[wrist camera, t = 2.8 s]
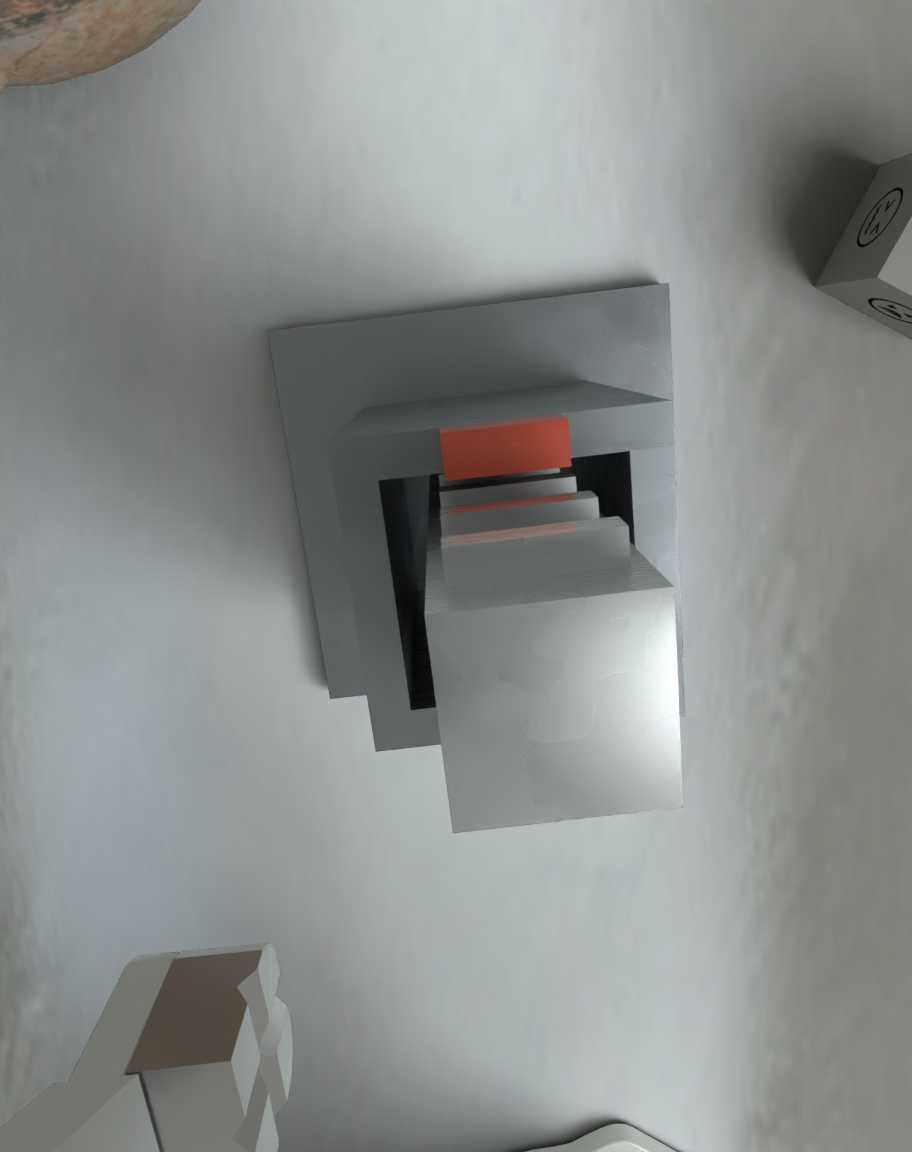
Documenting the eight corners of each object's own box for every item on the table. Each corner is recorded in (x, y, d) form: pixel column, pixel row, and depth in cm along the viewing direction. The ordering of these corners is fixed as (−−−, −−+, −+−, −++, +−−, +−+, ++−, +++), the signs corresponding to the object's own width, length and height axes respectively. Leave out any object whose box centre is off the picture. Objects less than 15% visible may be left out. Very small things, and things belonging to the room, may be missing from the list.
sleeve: (661, 284, 33) (827, 240, 19) (676, 650, 37) (819, 830, 23) (272, 331, 33) (154, 321, 19) (332, 689, 37) (273, 892, 24)
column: (534, 427, 33) (672, 542, 14) (544, 550, 35) (683, 807, 15) (428, 440, 33) (418, 571, 14) (442, 561, 35) (452, 832, 15)
